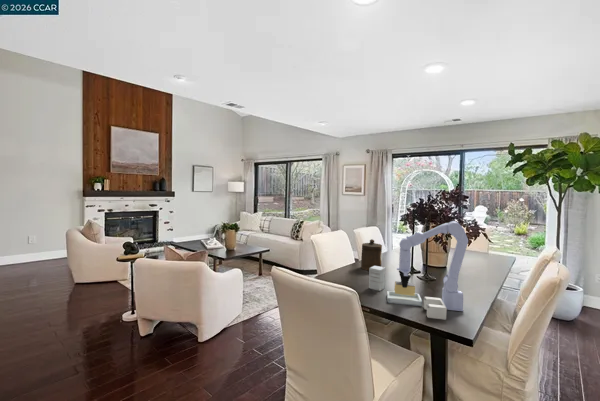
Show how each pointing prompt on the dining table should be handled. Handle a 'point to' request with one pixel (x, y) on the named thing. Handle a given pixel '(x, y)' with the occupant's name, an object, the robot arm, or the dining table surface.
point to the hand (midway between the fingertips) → (404, 285)
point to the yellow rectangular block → (404, 289)
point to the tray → (404, 299)
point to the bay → (435, 308)
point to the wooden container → (371, 255)
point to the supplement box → (377, 278)
